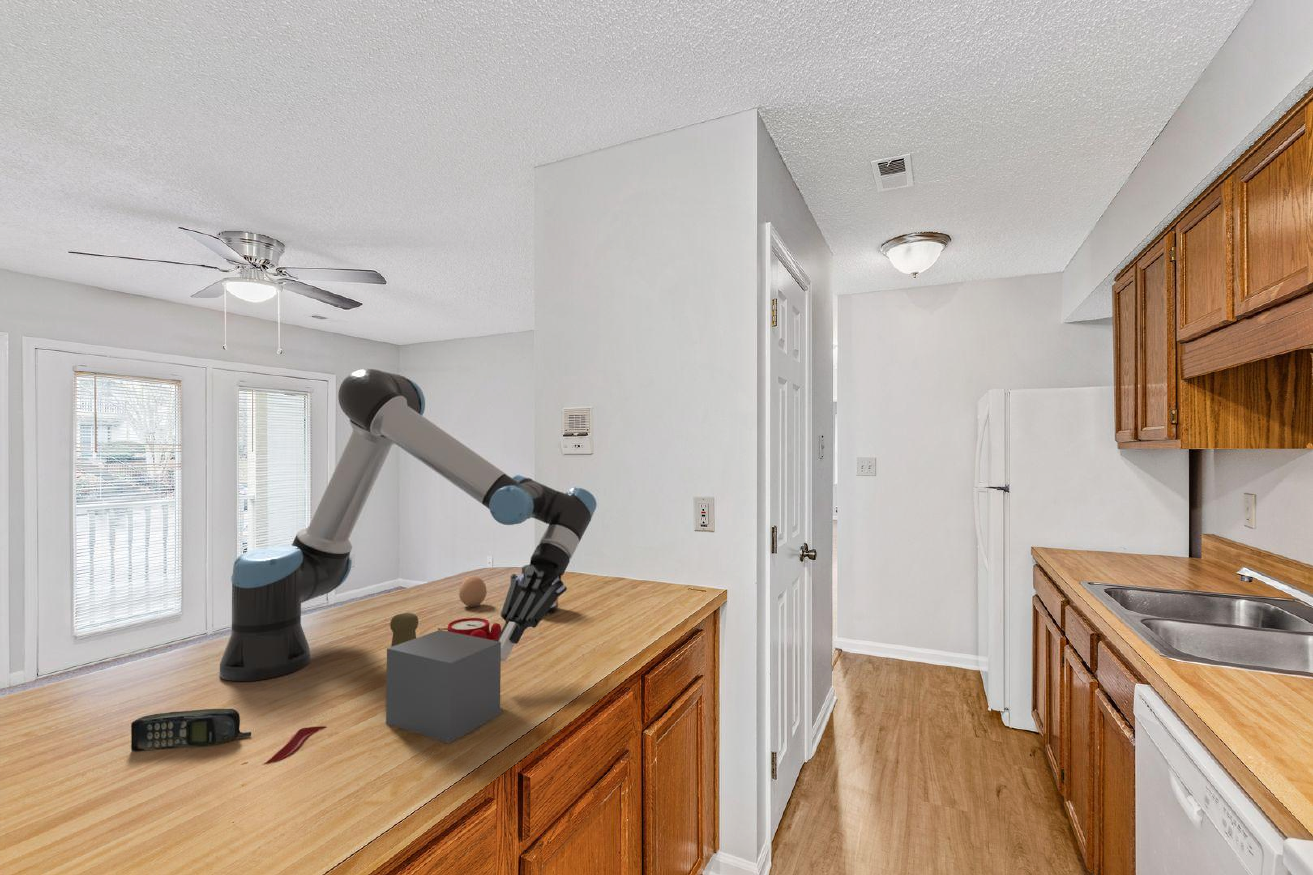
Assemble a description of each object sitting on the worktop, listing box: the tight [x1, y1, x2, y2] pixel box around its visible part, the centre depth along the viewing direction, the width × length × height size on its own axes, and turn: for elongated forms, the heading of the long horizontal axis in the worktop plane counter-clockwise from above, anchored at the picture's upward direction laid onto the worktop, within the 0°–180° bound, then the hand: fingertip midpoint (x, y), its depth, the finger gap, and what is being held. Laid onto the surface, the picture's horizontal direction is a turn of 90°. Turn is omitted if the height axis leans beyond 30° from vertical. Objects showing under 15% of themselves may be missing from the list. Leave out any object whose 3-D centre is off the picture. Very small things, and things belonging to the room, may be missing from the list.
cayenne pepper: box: [262, 726, 327, 766], centre depth 88 cm, size 12×5×2 cm, turn 159°
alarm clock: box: [437, 617, 502, 641], centre depth 135 cm, size 10×6×15 cm
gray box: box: [385, 629, 502, 744], centre depth 96 cm, size 11×14×12 cm
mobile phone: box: [130, 708, 252, 752], centre depth 88 cm, size 5×3×15 cm
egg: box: [458, 575, 488, 608], centre depth 164 cm, size 7×7×8 cm
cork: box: [389, 612, 419, 647], centre depth 117 cm, size 6×6×11 cm
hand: (498, 657), depth 108 cm, fingers closed
